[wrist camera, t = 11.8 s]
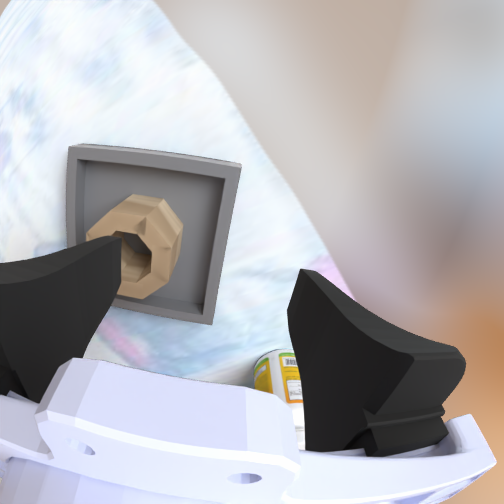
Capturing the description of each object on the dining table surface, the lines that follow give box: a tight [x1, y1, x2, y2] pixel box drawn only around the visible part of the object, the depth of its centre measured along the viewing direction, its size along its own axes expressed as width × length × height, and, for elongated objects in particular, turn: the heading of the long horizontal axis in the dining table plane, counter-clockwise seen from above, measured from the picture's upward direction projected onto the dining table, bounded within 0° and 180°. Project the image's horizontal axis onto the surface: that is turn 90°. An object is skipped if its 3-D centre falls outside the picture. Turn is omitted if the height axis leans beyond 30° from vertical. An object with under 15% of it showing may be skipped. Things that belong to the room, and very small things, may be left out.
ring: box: [86, 194, 183, 299], centre depth 18 cm, size 5×5×4 cm
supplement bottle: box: [254, 349, 305, 450], centre depth 22 cm, size 5×5×10 cm
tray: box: [66, 144, 242, 325], centre depth 19 cm, size 12×12×2 cm
